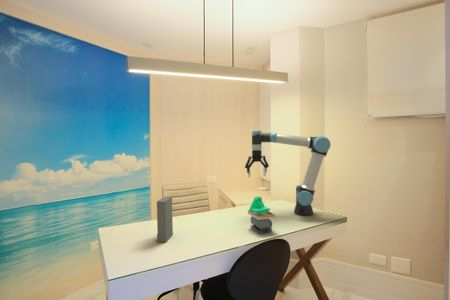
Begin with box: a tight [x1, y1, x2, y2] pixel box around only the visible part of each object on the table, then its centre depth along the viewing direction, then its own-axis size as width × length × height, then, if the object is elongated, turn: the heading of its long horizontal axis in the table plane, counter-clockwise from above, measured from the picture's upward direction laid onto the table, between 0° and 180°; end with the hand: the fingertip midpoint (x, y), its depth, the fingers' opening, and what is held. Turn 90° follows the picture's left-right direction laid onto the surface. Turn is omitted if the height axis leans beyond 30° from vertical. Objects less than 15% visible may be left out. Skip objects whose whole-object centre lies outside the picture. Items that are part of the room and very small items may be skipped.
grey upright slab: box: [156, 196, 174, 243], centre depth 172 cm, size 14×6×25 cm, turn 174°
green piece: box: [249, 195, 271, 214], centre depth 186 cm, size 12×8×10 cm, turn 119°
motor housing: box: [247, 210, 276, 235], centre depth 185 cm, size 12×16×12 cm
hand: (257, 176), depth 218 cm, fingers open, 13 cm apart
